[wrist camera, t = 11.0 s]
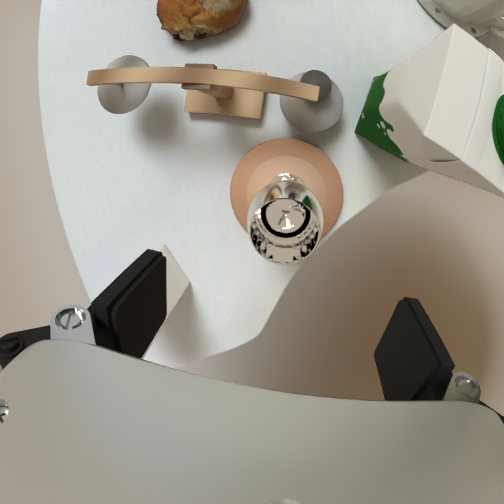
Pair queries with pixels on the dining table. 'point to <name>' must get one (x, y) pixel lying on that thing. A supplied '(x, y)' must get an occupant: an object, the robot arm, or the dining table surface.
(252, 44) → the dining table surface
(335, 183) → the dish
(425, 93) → the milk carton
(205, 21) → the bread roll
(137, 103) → the balance
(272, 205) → the wineglass
